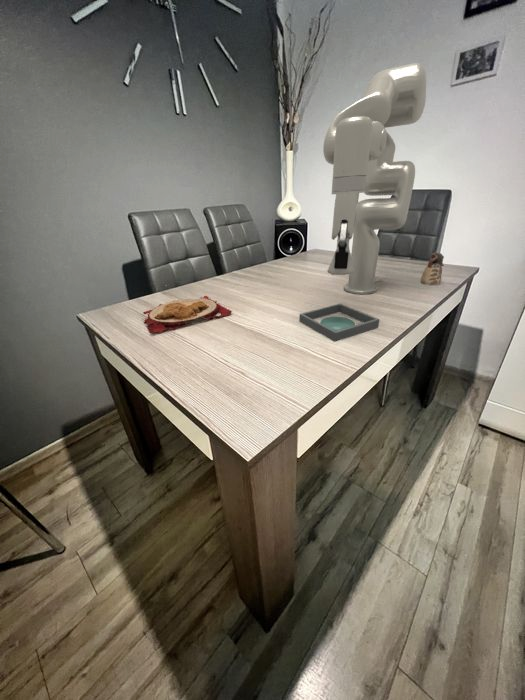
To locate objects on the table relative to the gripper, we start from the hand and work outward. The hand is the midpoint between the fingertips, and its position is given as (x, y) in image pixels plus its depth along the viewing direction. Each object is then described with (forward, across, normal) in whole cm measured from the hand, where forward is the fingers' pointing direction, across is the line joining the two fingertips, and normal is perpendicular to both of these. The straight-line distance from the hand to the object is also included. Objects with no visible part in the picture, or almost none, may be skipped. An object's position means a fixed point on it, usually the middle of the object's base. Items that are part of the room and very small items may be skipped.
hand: (341, 265), depth 73 cm
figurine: (+18, -49, +34) cm, 63 cm away
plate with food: (+18, +1, -52) cm, 54 cm away
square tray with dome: (+17, 0, 0) cm, 17 cm away
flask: (+2, 0, 0) cm, 2 cm away
